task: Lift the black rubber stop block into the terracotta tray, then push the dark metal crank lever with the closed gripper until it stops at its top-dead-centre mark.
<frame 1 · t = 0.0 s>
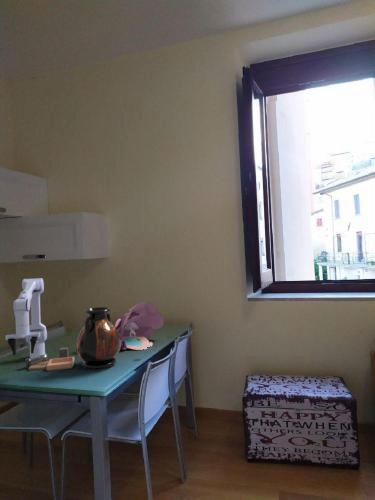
hand: (23, 353, 162), 10 cm above the table, tool pointing down, fingers open, 7 cm apart
tray: (61, 366, 174), on the table
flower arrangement: (136, 346, 207), on the table
stop block: (64, 359, 184), on the table
crank base: (39, 366, 175), on the table
crank lever: (36, 359, 177), point 3 cm above the table, hinge at -40.0°
amphora vase: (99, 365, 173), on the table
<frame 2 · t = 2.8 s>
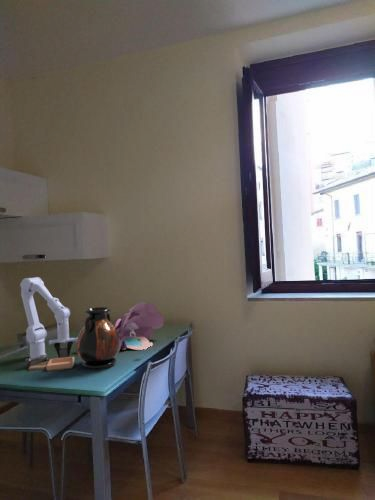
hand: (64, 356, 184), 2 cm above the table, tool pointing down, fingers closed on stop block, 4 cm apart
stop block: (64, 359, 184), on the table, touching gripper
everything else where it was.
when the fingers open (4 cm above the table, at t = 6.8 s): stop block drops 1 cm, resting on tray.
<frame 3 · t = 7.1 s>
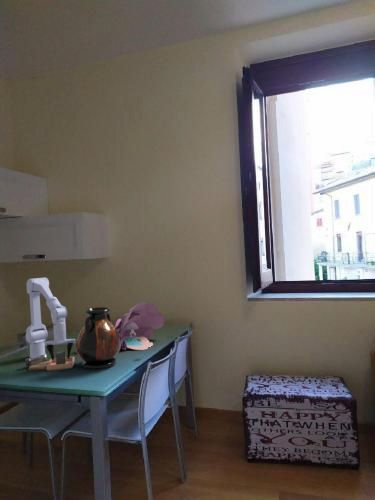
hand: (60, 358, 174), 4 cm above the table, tool pointing down, fingers open, 7 cm apart
stop block: (61, 364, 174), point 1 cm above the table, touching tray
everything else where it was.
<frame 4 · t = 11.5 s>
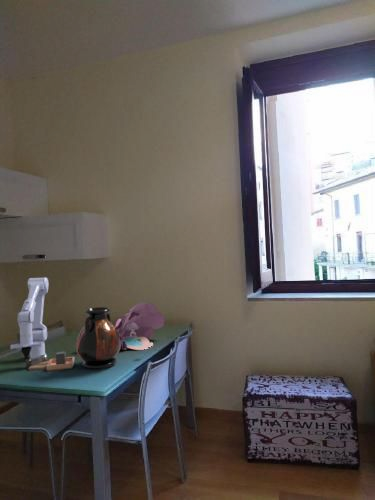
hand: (27, 362, 175), 2 cm above the table, tool pointing down, fingers closed, pressing on crank lever
crank lever: (36, 359, 177), point 3 cm above the table, hinge at -37.9°, touching gripper
everything else where it was.
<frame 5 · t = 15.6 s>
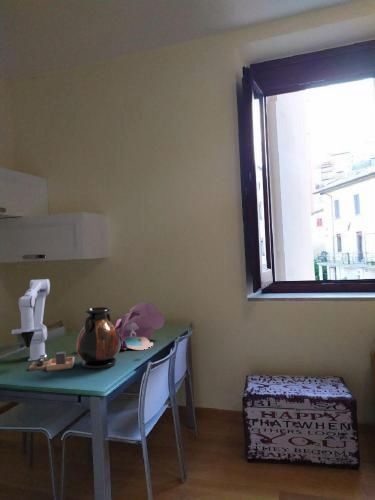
hand: (28, 347, 175), 10 cm above the table, tool pointing down, fingers closed
crank lever: (41, 359, 176), point 3 cm above the table, hinge at 1.1°
everything else where it was.
at the end: stop block 0.2 cm off-centre on the tray, point 0.6 cm above the tray's base; stop block tilted 0°; crank lever at +1° (first picture: -40°) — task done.
